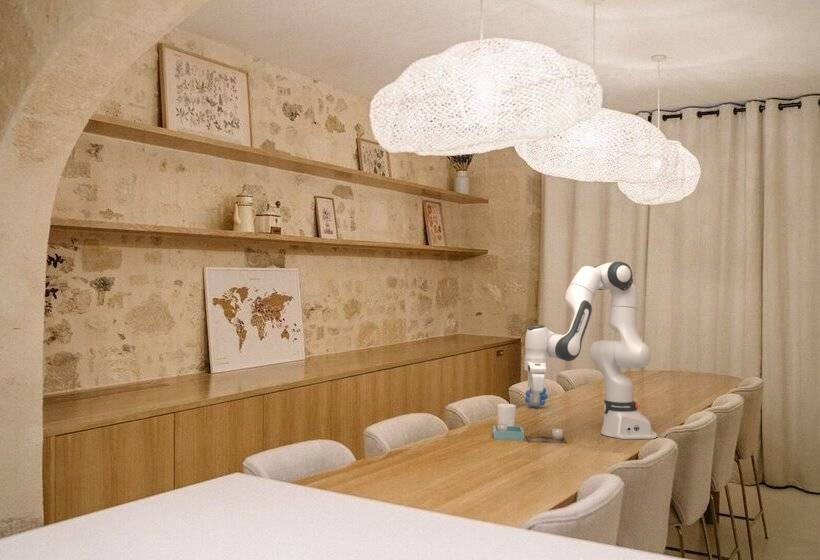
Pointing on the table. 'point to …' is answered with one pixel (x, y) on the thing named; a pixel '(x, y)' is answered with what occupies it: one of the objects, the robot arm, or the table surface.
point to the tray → (544, 439)
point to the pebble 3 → (556, 434)
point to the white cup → (506, 414)
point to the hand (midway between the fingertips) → (534, 400)
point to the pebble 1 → (501, 427)
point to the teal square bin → (509, 433)
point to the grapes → (542, 398)
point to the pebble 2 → (533, 401)
